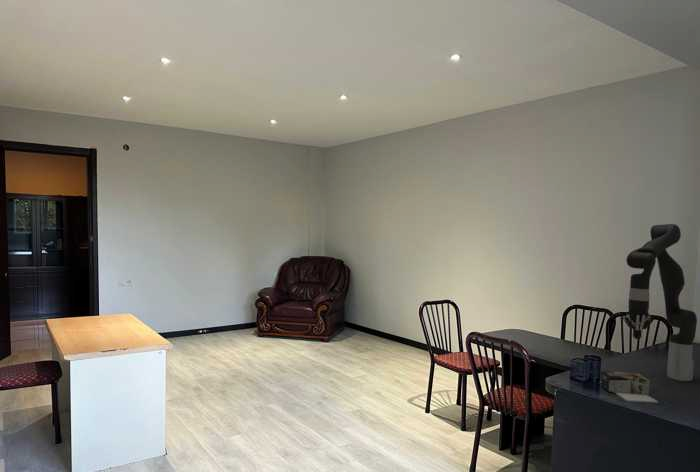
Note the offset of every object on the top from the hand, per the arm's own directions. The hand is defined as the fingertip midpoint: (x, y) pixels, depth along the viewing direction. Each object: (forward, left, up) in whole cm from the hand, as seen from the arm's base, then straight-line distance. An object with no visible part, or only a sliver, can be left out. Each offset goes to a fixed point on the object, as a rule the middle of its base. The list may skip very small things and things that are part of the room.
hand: (636, 338), depth 207 cm
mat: (+4, +2, -23) cm, 23 cm away
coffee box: (-4, +1, -19) cm, 20 cm away
